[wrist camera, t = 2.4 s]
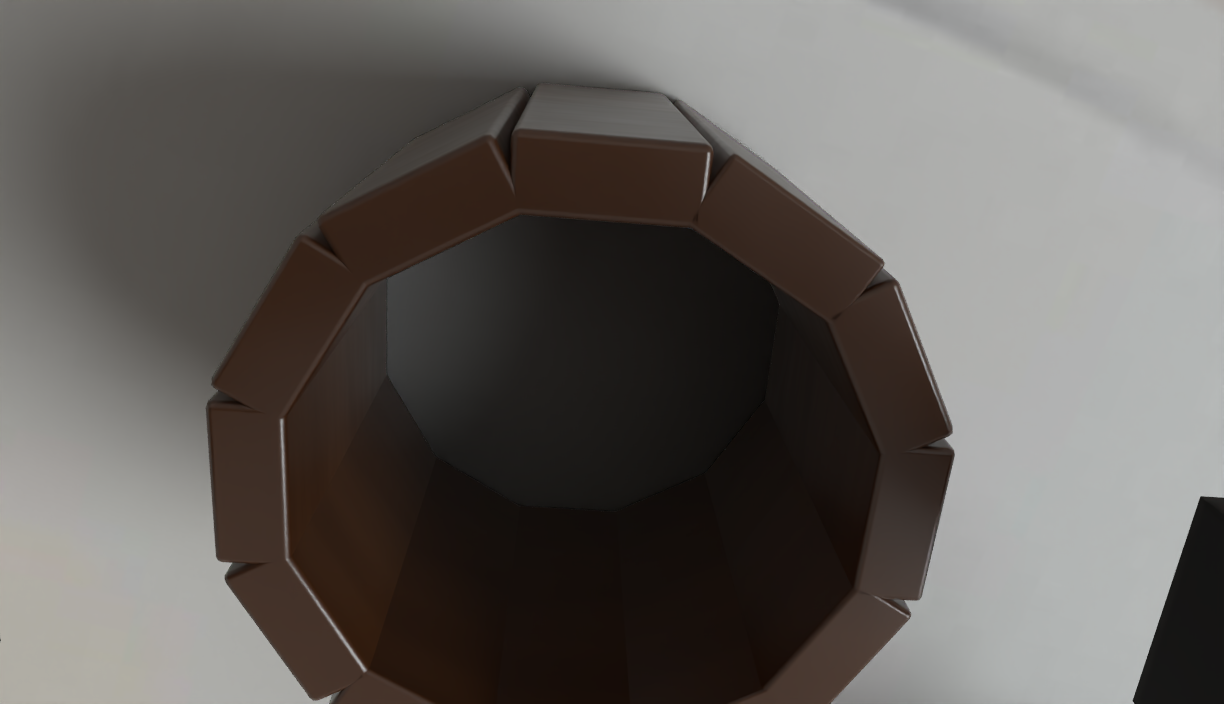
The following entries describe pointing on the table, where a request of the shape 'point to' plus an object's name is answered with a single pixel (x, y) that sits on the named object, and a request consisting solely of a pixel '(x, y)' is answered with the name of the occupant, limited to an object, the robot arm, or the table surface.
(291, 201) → the table surface
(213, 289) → the table surface
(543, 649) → the brown wooden hollow cylinder
